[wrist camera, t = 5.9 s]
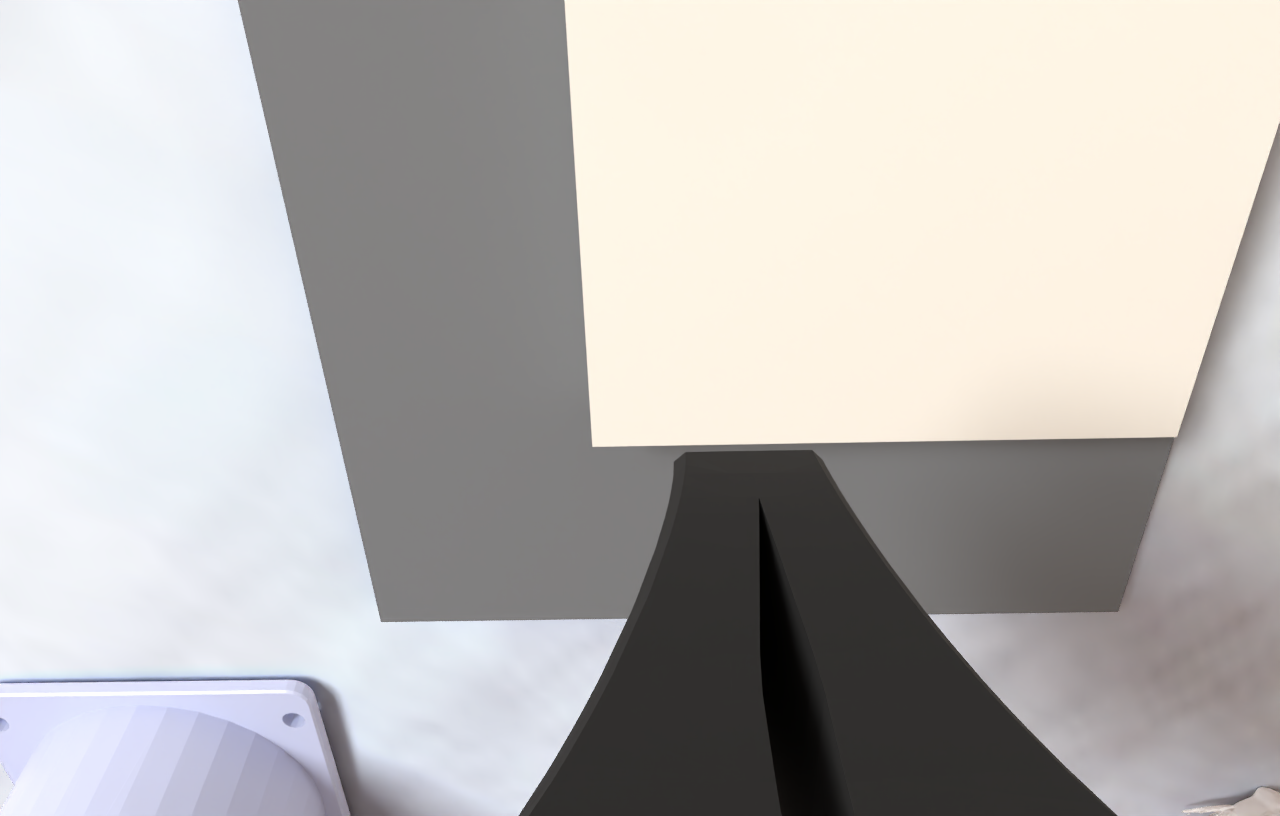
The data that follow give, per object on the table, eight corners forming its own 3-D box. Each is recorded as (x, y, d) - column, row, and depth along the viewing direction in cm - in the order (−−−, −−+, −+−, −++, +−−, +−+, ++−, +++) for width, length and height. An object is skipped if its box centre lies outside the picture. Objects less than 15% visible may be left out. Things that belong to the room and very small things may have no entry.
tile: (595, 390, 20) (1138, 380, 20) (592, 446, 18) (1177, 437, 18) (569, -74, 15) (1275, -92, 15) (561, -46, 14) (1340, -66, 14)
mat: (1111, 598, 23) (1117, 612, 23) (384, 608, 24) (380, 621, 23) (1383, -262, 14) (1400, -260, 14) (195, -229, 15) (185, -225, 14)
